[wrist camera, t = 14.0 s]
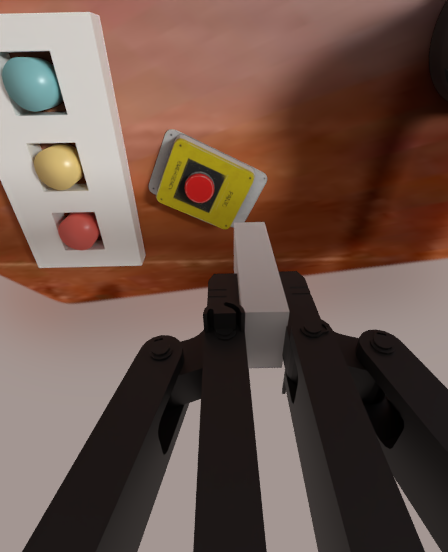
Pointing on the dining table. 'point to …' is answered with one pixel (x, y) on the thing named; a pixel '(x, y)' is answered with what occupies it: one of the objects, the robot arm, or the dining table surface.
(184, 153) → the emergency button
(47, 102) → the teal button
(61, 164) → the ochre button
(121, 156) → the button panel
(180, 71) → the dining table surface
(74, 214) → the red button
